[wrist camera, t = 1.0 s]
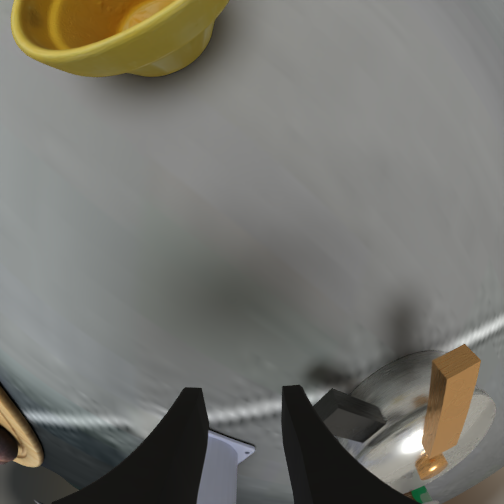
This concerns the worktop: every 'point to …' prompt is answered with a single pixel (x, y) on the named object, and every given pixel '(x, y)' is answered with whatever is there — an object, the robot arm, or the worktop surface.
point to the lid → (434, 427)
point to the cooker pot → (378, 401)
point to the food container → (421, 496)
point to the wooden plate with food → (17, 436)
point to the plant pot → (114, 34)
